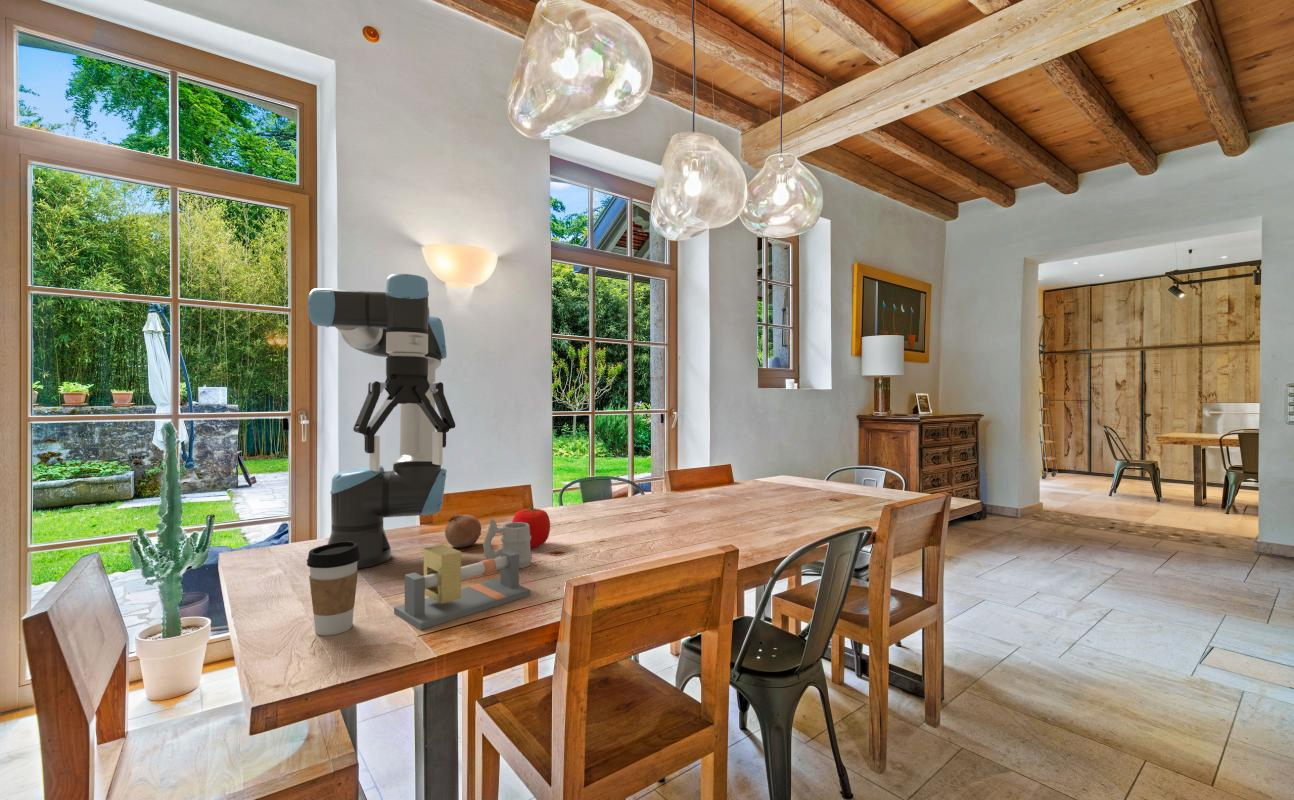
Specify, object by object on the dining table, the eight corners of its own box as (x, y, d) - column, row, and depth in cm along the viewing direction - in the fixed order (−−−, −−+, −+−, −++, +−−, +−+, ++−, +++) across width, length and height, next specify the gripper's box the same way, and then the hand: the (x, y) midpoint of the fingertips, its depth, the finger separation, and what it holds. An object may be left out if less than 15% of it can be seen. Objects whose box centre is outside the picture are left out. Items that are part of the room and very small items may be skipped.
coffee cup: (367, 628, 103) (367, 546, 103) (316, 643, 97) (316, 556, 97) (349, 615, 109) (349, 537, 109) (300, 629, 103) (299, 546, 102)
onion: (450, 560, 154) (432, 529, 151) (462, 541, 163) (446, 512, 160) (481, 549, 152) (464, 518, 150) (491, 531, 161) (475, 501, 159)
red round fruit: (512, 542, 161) (512, 504, 161) (549, 540, 163) (550, 503, 163) (510, 552, 151) (510, 512, 151) (550, 551, 153) (550, 511, 153)
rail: (394, 613, 110) (394, 571, 110) (501, 582, 128) (501, 546, 128) (420, 630, 103) (420, 585, 103) (530, 595, 120) (530, 556, 120)
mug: (535, 567, 139) (535, 518, 139) (485, 573, 134) (485, 522, 134) (528, 558, 146) (528, 512, 146) (480, 564, 141) (481, 516, 141)
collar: (423, 594, 113) (423, 548, 112) (442, 589, 115) (442, 544, 115) (441, 603, 108) (441, 556, 107) (460, 598, 111) (461, 551, 110)
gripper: (349, 351, 99) (349, 476, 99) (473, 358, 117) (472, 463, 117) (333, 353, 104) (333, 471, 105) (454, 358, 122) (454, 459, 122)
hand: (407, 467), depth 111 cm, fingers open, 12 cm apart
